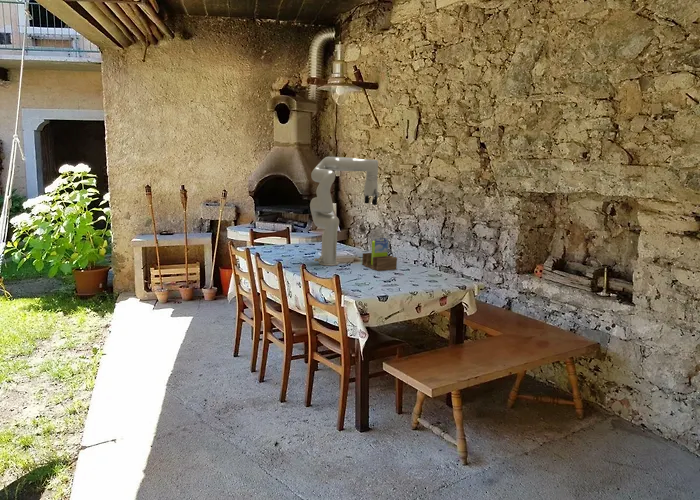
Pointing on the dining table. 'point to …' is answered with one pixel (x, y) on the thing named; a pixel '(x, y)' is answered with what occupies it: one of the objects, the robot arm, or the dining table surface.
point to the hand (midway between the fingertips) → (370, 204)
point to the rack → (379, 262)
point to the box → (379, 248)
